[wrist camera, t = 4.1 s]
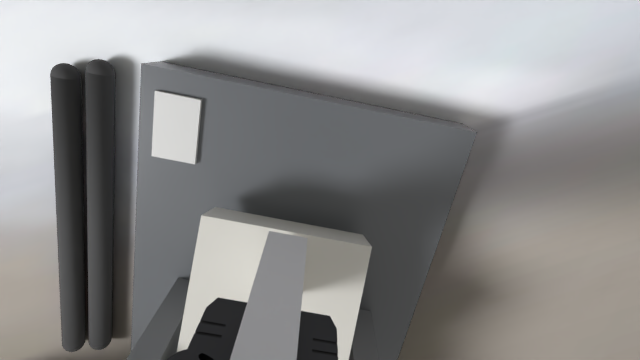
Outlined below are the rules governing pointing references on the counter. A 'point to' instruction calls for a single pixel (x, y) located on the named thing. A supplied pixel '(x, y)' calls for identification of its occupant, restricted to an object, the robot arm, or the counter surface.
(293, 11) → the counter surface
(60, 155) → the cords
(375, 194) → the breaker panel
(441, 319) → the counter surface
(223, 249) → the plate
